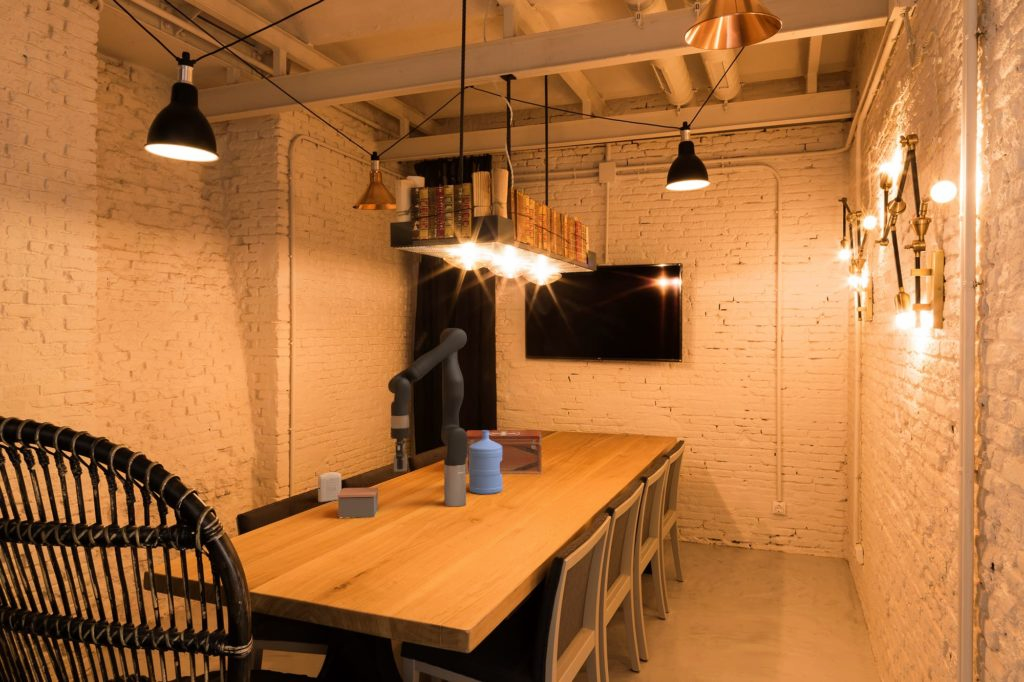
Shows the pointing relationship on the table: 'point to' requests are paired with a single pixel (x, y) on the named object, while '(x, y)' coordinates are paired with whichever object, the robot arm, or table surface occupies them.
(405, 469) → the weight
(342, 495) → the lid
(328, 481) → the photo printer
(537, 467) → the wooden box
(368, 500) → the box
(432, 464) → the table surface
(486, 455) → the water jug
